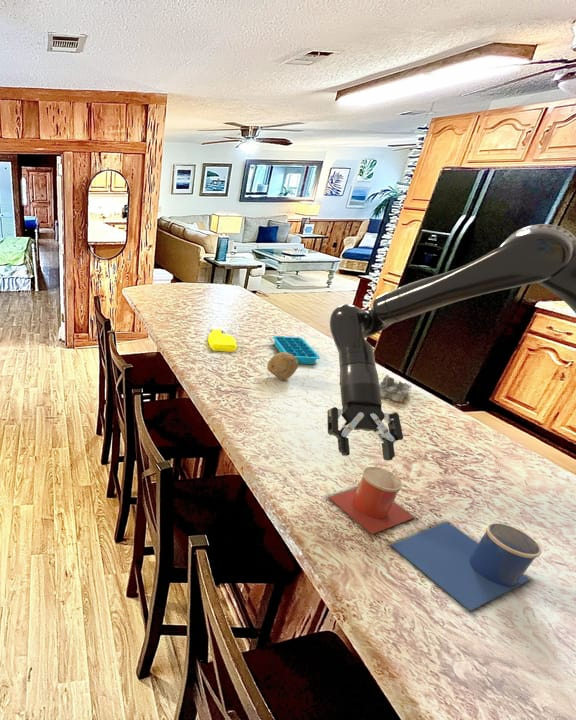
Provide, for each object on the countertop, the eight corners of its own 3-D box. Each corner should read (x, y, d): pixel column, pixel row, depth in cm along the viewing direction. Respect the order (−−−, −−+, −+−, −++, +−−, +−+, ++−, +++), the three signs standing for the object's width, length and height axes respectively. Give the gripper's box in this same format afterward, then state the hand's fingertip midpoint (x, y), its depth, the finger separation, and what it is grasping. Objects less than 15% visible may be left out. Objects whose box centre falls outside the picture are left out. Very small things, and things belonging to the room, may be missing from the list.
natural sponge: (264, 382, 131) (270, 355, 126) (264, 371, 138) (270, 345, 134) (294, 387, 128) (301, 360, 123) (292, 375, 135) (299, 349, 131)
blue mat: (446, 522, 78) (446, 522, 78) (529, 580, 67) (529, 579, 67) (390, 545, 73) (390, 544, 73) (469, 611, 62) (470, 610, 62)
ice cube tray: (299, 344, 160) (301, 337, 159) (319, 365, 142) (321, 358, 141) (270, 342, 162) (272, 336, 160) (286, 363, 144) (288, 356, 142)
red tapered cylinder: (366, 492, 85) (378, 463, 82) (396, 514, 80) (410, 485, 76) (344, 499, 83) (355, 470, 80) (373, 522, 78) (386, 493, 74)
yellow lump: (209, 350, 154) (205, 329, 176) (237, 352, 152) (230, 331, 174) (210, 343, 153) (205, 323, 175) (239, 345, 151) (230, 325, 173)
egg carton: (382, 384, 130) (386, 373, 128) (409, 392, 125) (414, 381, 123) (373, 395, 123) (377, 383, 122) (401, 404, 118) (406, 392, 117)
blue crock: (482, 549, 72) (501, 518, 69) (527, 580, 67) (551, 548, 63) (459, 559, 70) (478, 528, 67) (503, 593, 65) (527, 560, 61)
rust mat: (368, 484, 88) (368, 484, 88) (414, 518, 79) (414, 517, 79) (328, 498, 84) (328, 497, 84) (371, 534, 75) (372, 533, 75)
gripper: (333, 379, 87) (339, 452, 82) (403, 384, 85) (414, 459, 79) (319, 388, 94) (324, 455, 89) (383, 393, 92) (392, 462, 86)
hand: (366, 457), depth 84 cm, fingers open, 8 cm apart
